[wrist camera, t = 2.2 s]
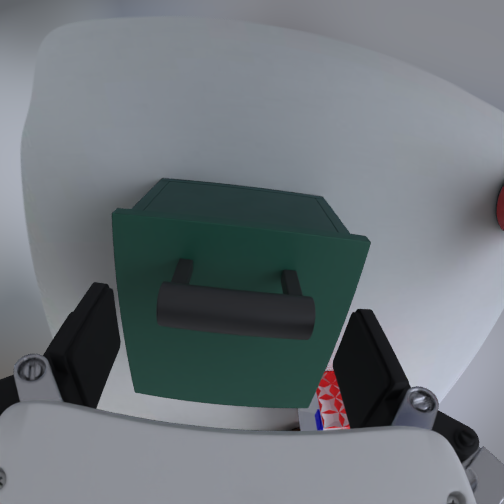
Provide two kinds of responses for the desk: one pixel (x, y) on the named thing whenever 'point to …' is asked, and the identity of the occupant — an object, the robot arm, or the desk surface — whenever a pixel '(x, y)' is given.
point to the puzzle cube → (324, 407)
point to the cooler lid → (231, 305)
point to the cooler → (241, 204)
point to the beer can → (500, 208)
